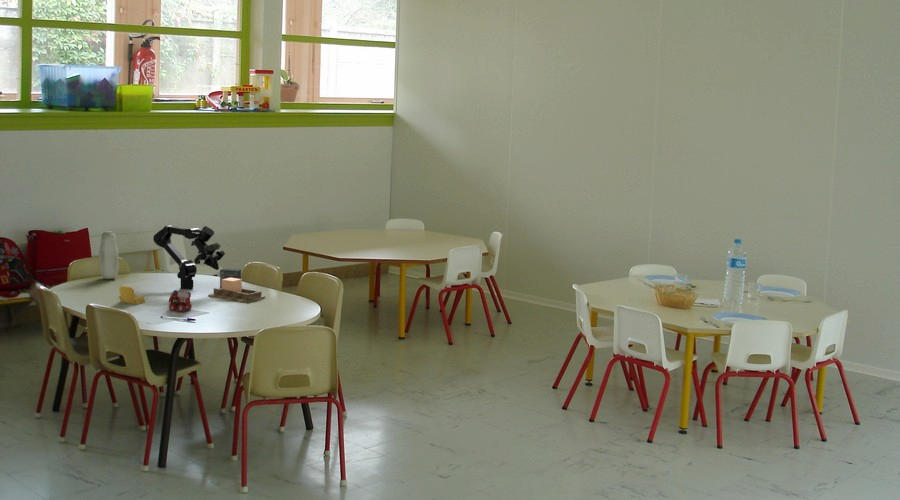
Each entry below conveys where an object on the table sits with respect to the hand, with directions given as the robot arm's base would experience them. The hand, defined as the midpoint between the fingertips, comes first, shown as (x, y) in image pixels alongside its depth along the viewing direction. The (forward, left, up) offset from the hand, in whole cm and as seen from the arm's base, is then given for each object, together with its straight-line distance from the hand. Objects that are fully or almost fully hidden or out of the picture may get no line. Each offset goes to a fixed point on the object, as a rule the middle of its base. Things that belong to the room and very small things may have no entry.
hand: (217, 269), depth 536 cm
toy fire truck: (-20, -40, -14) cm, 46 cm away
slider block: (+7, -7, -12) cm, 16 cm away
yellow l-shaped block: (-44, -17, -14) cm, 49 cm away
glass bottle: (-60, +48, -14) cm, 78 cm away
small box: (+7, +16, -14) cm, 23 cm away
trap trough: (+10, -10, -14) cm, 19 cm away
